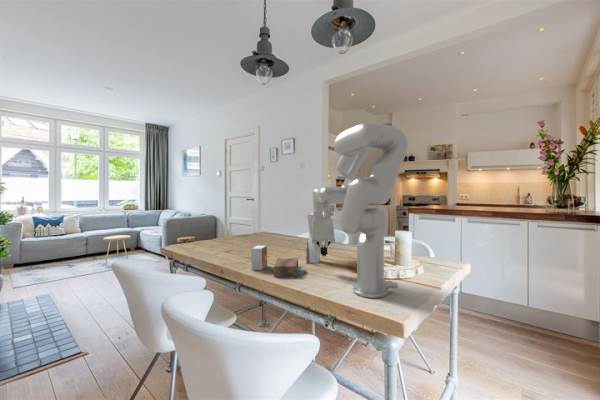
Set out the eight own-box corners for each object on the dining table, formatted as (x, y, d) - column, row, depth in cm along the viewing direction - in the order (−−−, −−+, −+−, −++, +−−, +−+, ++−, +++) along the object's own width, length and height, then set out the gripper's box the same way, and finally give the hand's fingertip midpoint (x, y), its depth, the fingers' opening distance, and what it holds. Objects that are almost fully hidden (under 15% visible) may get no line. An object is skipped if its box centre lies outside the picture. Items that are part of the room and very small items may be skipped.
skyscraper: (306, 260, 148) (306, 209, 148) (321, 259, 148) (320, 208, 147) (306, 264, 140) (305, 210, 139) (321, 264, 139) (321, 210, 139)
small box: (262, 270, 128) (261, 248, 128) (251, 270, 130) (250, 248, 129) (267, 266, 136) (267, 245, 136) (257, 265, 137) (256, 245, 137)
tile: (304, 271, 127) (304, 266, 127) (303, 275, 121) (303, 270, 121) (278, 271, 128) (278, 266, 128) (277, 275, 122) (277, 270, 122)
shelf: (302, 267, 132) (302, 258, 132) (301, 276, 118) (301, 266, 118) (277, 267, 133) (277, 258, 132) (274, 276, 119) (273, 266, 118)
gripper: (337, 214, 127) (339, 253, 127) (305, 216, 128) (307, 255, 127) (339, 215, 120) (341, 256, 119) (305, 216, 120) (307, 258, 120)
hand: (324, 255), depth 123 cm, fingers closed
